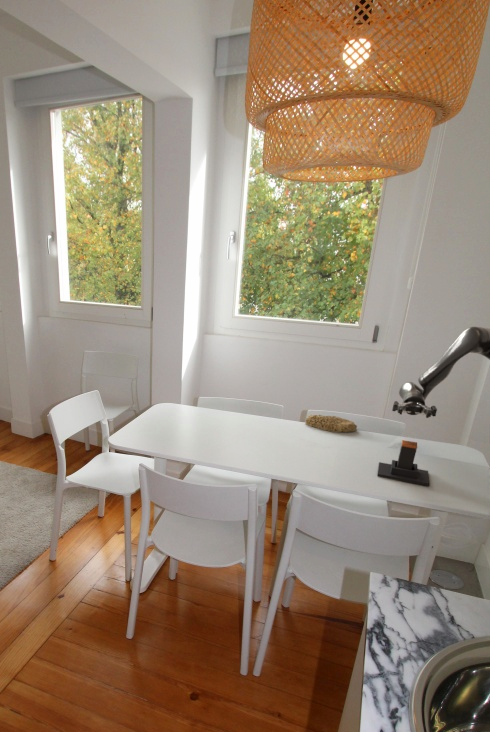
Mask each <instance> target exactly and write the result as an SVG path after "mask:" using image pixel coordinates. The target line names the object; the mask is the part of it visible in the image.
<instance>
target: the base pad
mask: <svg viewBox="0 0 490 732" xmlns="http://www.w3.org/2000/svg"><path fill="white" fill-rule="evenodd" d="M397 462H398V460H396V459H392V460H391V463H386V462H381V461H380V462H378V467H377V468H378V469H377V477H379V478H383V479H389V480H395V481H400V482H403V483H404V482H405V483H410V484H414V485H420V486H426V487H429V486H430V476H429V470H426V469H420V468H418V463H413V466H412V470H407V469H402V468H396V467H397Z"/></svg>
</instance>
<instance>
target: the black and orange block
mask: <svg viewBox="0 0 490 732" xmlns="http://www.w3.org/2000/svg"><path fill="white" fill-rule="evenodd" d="M417 449H418V442H416V441H410V440H406V439H405V440H403V439H402V440H401V446H400V450H399V453H398V454H399V455H398V458H397V461H398V462H397V467H396V468H402V469H407V470H412V466H413V464H414V462H415V457H416V453H417Z"/></svg>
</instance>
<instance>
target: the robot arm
mask: <svg viewBox="0 0 490 732" xmlns="http://www.w3.org/2000/svg"><path fill="white" fill-rule="evenodd" d="M470 353H472V354H478V355H481V356H483V357H485V358H486V359H488V360H489V361H490V328H488V327H482V326H470V327H468V328H466V329H465V330H463V331H462V332H461V333H460V335H459V336H458V337H457V338H456V339H455V340H454V341H453V343H452V344H451V345H450V346H449V348H448V349H446V351H445V352H444V353H443V354H442V355H441V356H440V357H439V359H438V360H437V361H436V362H435V363H433V364H432V365H431V366H430V367H429V368H428V369H426V371H424V372H423V373H422V374H421V375H419V377H418V378H417V381H418V384H419V385H420V386H418V385H417V384H416V383H414V382H412V381H407V382H405V383H403V384H402V385H401V386H400V387H399V390H398V395H399V397H400V398H401V400H402V403H400V402H399V401H397V400H395V401H394V402H393V403H392V404H393V405H392V410H391V411H392V412H397V414H399V415H402V414H407V415H409V416H417V415H421V416H425V418H426V419H430V418H431V417H436V416H437V411H438V408H437V406H436V405H431V406H429V407H428V406H427V405H426V400H427V398H428V396H429V395H430V393H431V392H432V391H433V390H434V389H435V388H436V387H438V386H439V385H440V384H441V383H442V382H444V381H445V380H446V378H448V376H449V375H450V374H451V372H452V370H453V369H454V367H455V365H456V364H457V362H459V361H460V360H461V359H463V357H465V356H466V355H468V354H470Z"/></svg>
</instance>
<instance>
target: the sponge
mask: <svg viewBox="0 0 490 732" xmlns="http://www.w3.org/2000/svg"><path fill="white" fill-rule="evenodd" d="M305 425H306V426H309V427H311V428H316V429H320V430H323V431H326V432H332V433H354V432H357V428H358V425H357V424H355V422H354V421H352V420H349V419H346V418H342V417H339V416H333V415H322V414H310V415H309V416H308V417H307V418H305Z"/></svg>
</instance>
